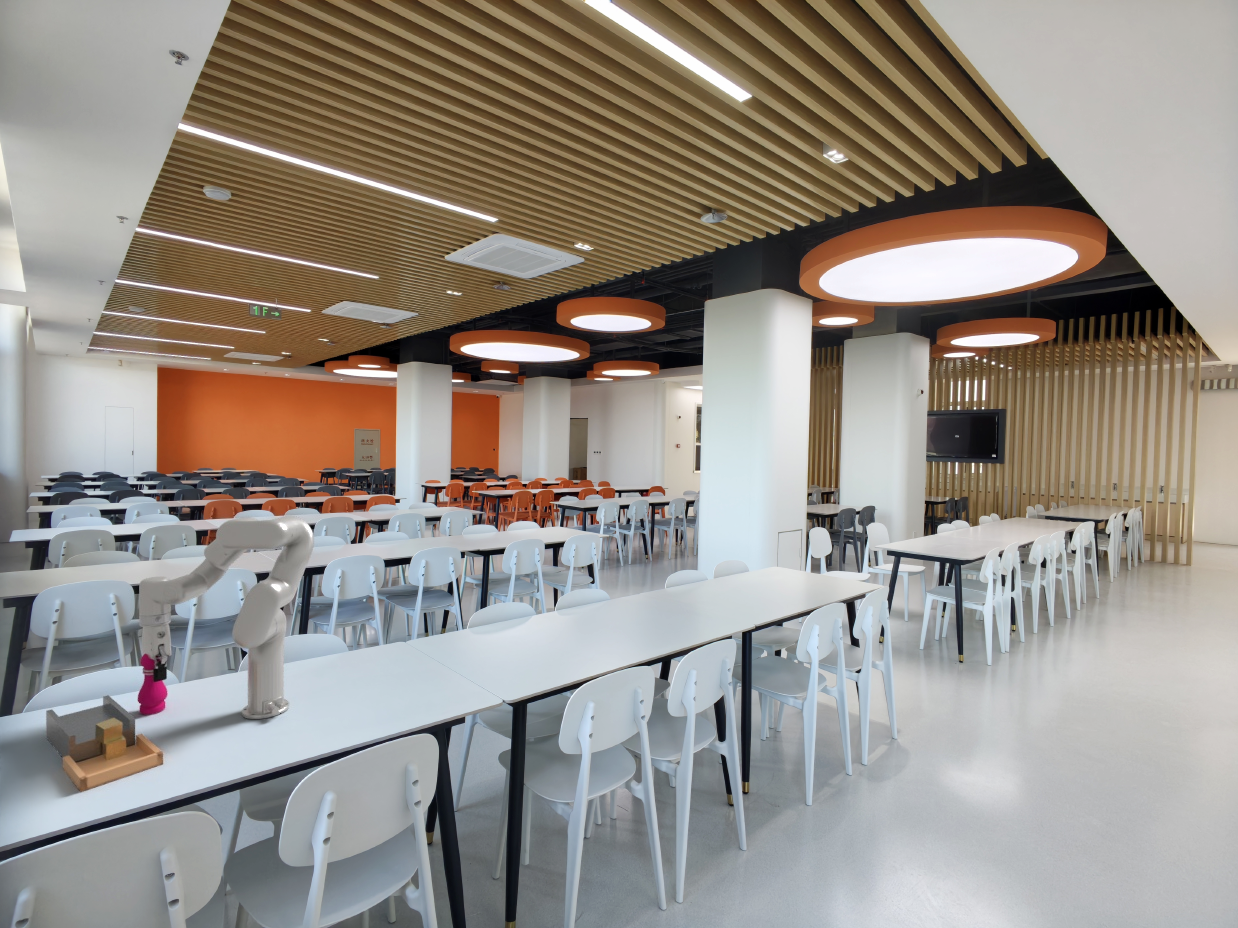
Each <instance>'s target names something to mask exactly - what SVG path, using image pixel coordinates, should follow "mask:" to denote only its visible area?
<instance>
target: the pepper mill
mask: <svg viewBox="0 0 1238 928" xmlns="http://www.w3.org/2000/svg"><path fill="white" fill-rule="evenodd" d="M157 657H160V655H159V656H156V658H157ZM159 661H160V660H157V664H158V662H159ZM140 665H141V667H142V674H143V675H144V677H143V678H144V679H143V683H142V685H141V687H140V690H139V692H138V694H137V702H138V704H140V705H139V710H138V711H139V714H141V715H144V716H146V715H148V716H149V715H150V716H151V715H155V714H158V713H159V714H160V713H161V712H162V711H163V710H165V709H166V701H165V700H166V699H167V697H168V689H167V686H166V684H165V683H164V680H162V681H158V682H154V681H153V669H154V668H155V667H154V661H153V659H151V658H149V657H148V655H147V654H143V655H142V656H141V658H140Z"/></svg>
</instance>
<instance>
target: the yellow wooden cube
mask: <svg viewBox="0 0 1238 928" xmlns="http://www.w3.org/2000/svg"><path fill="white" fill-rule="evenodd" d="M102 747H103V757H104V758H105V759H106V761H107V760H110V759H113V758H117V757H120V756H123V755H126V739H125V737H124V736H123V735H122V737H121V738H119V739H116V740H113V741H111V742H108V743H106V744H103V743H102Z"/></svg>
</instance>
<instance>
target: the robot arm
mask: <svg viewBox="0 0 1238 928" xmlns="http://www.w3.org/2000/svg"><path fill="white" fill-rule="evenodd" d="M314 545H315V537H314V533H313V530H312V528H311V526H310V525H309V524H308V522H307V521H305V519H303V518H301V517H300V516H295V515H287V516H282V517H277V518H274V519H269V520H268V519H267V520H264V519H263V520H259V519H257V518H255V517H251V516H242V517H238V518H234V519H229V520H226V521H224V522H223V523H222V524H221V525H220V526H219V527H218V528H217V530H216V533H215V539H214V540H212V541H211V543H210V544H209V545H207V546H206V547H205V549H203V550H204V551H203V556H204V557H205V559H204V560H203V561H202V562H201V563H200V564H199V565H198V566H197V567H196V568H195V569H194V570H193V571H191V572H190V573H189V574H185V575H182V576H180V577H175V578H173V579H170V578H169V577H167V576H153V577H146V578H144V579H142V580H141V581H140V582H139V585H138V586H139V591H138V592H139V595H138V597H139V598H138V599H139V603H138V604H139V605H138V606H139V607H138V608H139V609H138V610H139V612H138V613H139V614H138V615H139V618H138V619H139V620H138V621H139V627H141V628H142V629H141V630H142V633H141V634H142V635H141V650H142V654H143V655H144V654H147V655H148V657H149V658H151V659H153V661H154V667H155V668H154V669H153V681H154V682H158V681H166V680H167V678H168V676H167V675H168V673H167V672H168V671H167V670H168V664H167V661H168V657H171V656H172V639H171V629H170V623H171V622H172V613H171V611H172V607H171V606H172V605H173V606H174V605H180V604H183V603H185V602H189V601H190V600H192V599H195V598H196V599H197V598H198V597H201V596H202V595H203V594H205V593H207V591H208V590H209V591H210V589H211V588H212V587H213V586H214V585H216V584H217V583H218V582H219V581H220V580H221V579H222V578H224V577H223V576H225V575H226V572H227V571H228V570H229V568H230V566H232V565H233V564H234V563H235V562H236V561H237V560H238V559H239V558H240V557H241V556H243V555H244V554H245V553H246V552H247V551H248V550H274V549H275V550H276V549H279V548H282V547H283V548H282V549H281V552H280V553H279V555H278V556H277V558H276V559H275V562H274V565H273V568H271V571H270V574H269V575H268V577H267V578H266V579H264V580H262V581H260V582H258V583H256V584H255V585H254V586H252V588H250V589H249V591H248V592H247V594H246V596H245V597H244V601H243V603H242V606H240V607H241V608H240V610H239V612H238V614H237V617H236V619H235V621H234V624H233V627H232V632H231V633H232V639H233V642H234V643H235V645H236V646H237V647H240V648H241V649H244V650H248V651H247V705H246V706H244V707H243V708H242V709H241V716H242V717H244V718H245V719H249V720H250V719H251V720H259V719H260V720H262V719H267V718H268V719H269V718H273V717H275V716H278V715H280V713H281V714H283V713H284V712H285V711H287V710H288V709H289V708H290V702H289V700H288V699H285V698H284V695H285V694H284V693H285V689H284V687H285V681H284V678H285V676H284V675H285V672H284V671H285V669H284V668H285V667H284V665H285V661H284V660H285V655H284V654H285V641H286V640H285V639H286V633H287V632H286V631H287V624H288V623H287V617H286V614H285V612H284V611H283V610H282V609H281V608H283V607H285V606H286V605H288V604H290V602H292V601H293V599H294V598H295V595H296V593H297V590H298V588H299V585H300V583H301V580H302V578H303V576H304V573H305V570H306V568H307V566H308V563H309V561H310V558H311V555H312V554H313V550H314ZM159 655H160V657H157V658H156V656H159ZM157 660H160V661H159V662H158V664H157Z"/></svg>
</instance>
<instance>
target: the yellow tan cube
mask: <svg viewBox="0 0 1238 928" xmlns="http://www.w3.org/2000/svg"><path fill="white" fill-rule="evenodd" d="M122 725H123V723H122V722H121V721H119V720H117V719H115V718H112V719H109V720H106V721H103V722H101V723H98V724H96V731H95V739H96V740H98V741H99V742H101V743H103V744H106V743H108V742H111V741H113V740H116V739H119V738H121V737H122Z"/></svg>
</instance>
